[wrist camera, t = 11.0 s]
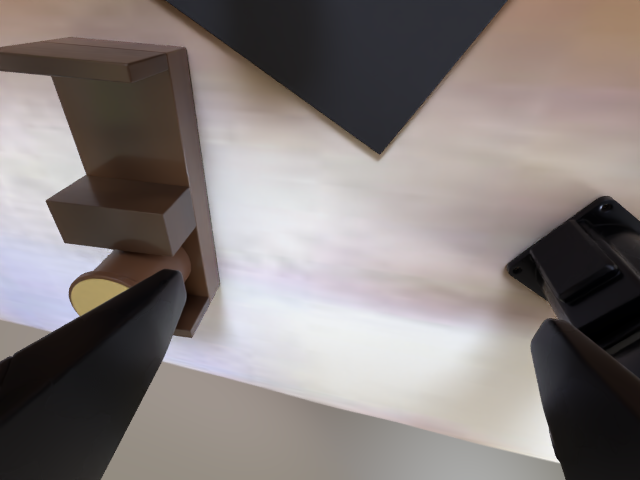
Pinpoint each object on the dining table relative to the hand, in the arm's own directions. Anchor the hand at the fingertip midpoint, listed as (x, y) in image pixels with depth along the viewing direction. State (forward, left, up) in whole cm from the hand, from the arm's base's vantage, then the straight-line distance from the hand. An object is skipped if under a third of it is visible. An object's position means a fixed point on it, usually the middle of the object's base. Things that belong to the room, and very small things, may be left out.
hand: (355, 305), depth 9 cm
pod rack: (+8, +10, -12) cm, 18 cm away
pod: (+6, +13, -10) cm, 18 cm away
